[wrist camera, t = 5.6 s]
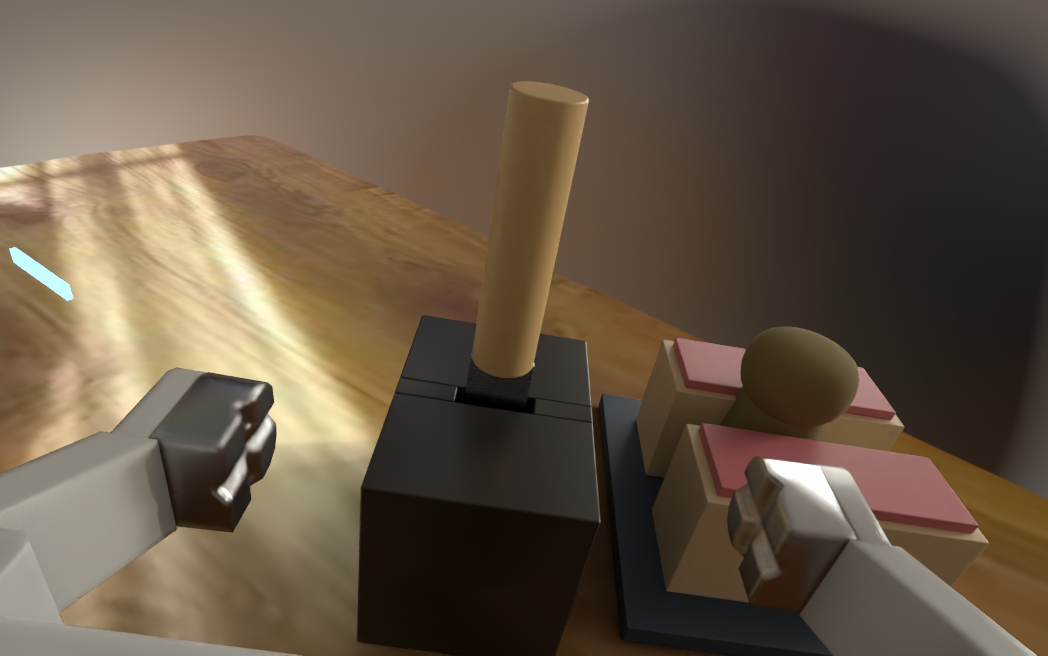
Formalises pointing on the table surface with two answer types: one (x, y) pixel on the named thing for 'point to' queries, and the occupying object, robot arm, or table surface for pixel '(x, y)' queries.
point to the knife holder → (478, 504)
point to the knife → (523, 239)
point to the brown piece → (793, 384)
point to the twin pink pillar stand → (708, 486)
